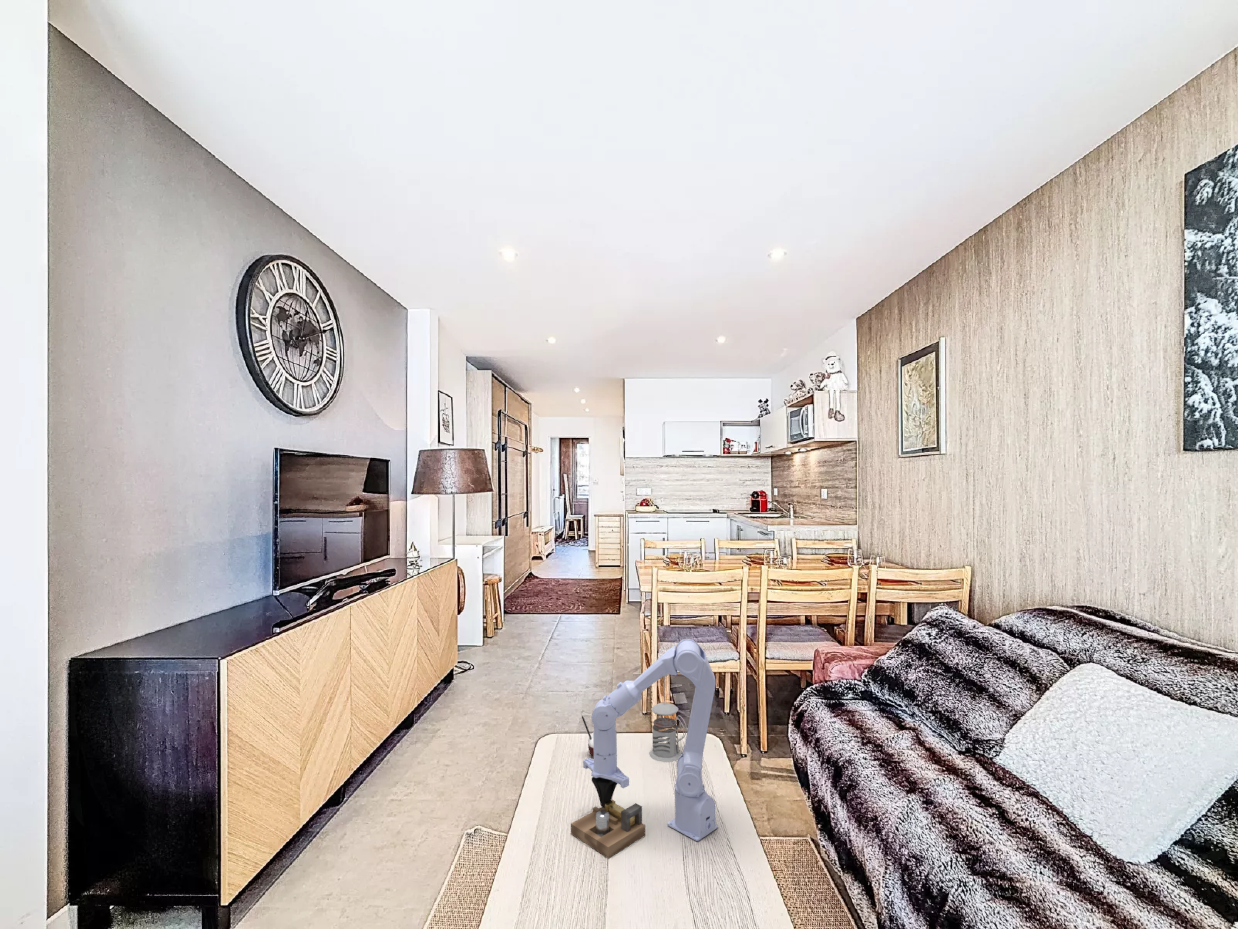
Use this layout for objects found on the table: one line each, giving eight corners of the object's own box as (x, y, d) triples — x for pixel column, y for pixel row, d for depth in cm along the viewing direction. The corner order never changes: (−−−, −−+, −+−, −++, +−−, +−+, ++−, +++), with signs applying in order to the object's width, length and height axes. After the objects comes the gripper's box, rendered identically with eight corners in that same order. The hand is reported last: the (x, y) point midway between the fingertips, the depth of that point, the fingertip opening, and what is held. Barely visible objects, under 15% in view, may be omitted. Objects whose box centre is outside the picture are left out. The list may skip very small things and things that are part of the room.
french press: (658, 744, 196) (657, 664, 196) (692, 752, 190) (691, 670, 190) (643, 757, 187) (642, 673, 187) (678, 766, 181) (677, 680, 181)
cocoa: (613, 753, 191) (615, 713, 191) (610, 762, 185) (612, 721, 185) (583, 750, 192) (584, 710, 193) (579, 758, 186) (580, 718, 186)
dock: (645, 835, 148) (644, 808, 148) (608, 858, 140) (608, 829, 140) (607, 813, 157) (607, 788, 157) (570, 834, 149) (570, 806, 149)
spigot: (611, 838, 147) (611, 813, 147) (604, 845, 144) (604, 819, 144) (600, 834, 149) (600, 809, 149) (593, 841, 146) (593, 815, 146)
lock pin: (635, 823, 148) (635, 812, 148) (628, 827, 147) (628, 816, 147) (612, 810, 154) (612, 799, 154) (604, 814, 152) (604, 803, 152)
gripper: (573, 746, 156) (574, 800, 156) (613, 766, 146) (614, 824, 146) (594, 737, 161) (595, 790, 161) (634, 756, 151) (635, 812, 151)
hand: (605, 805), depth 154 cm, fingers closed
